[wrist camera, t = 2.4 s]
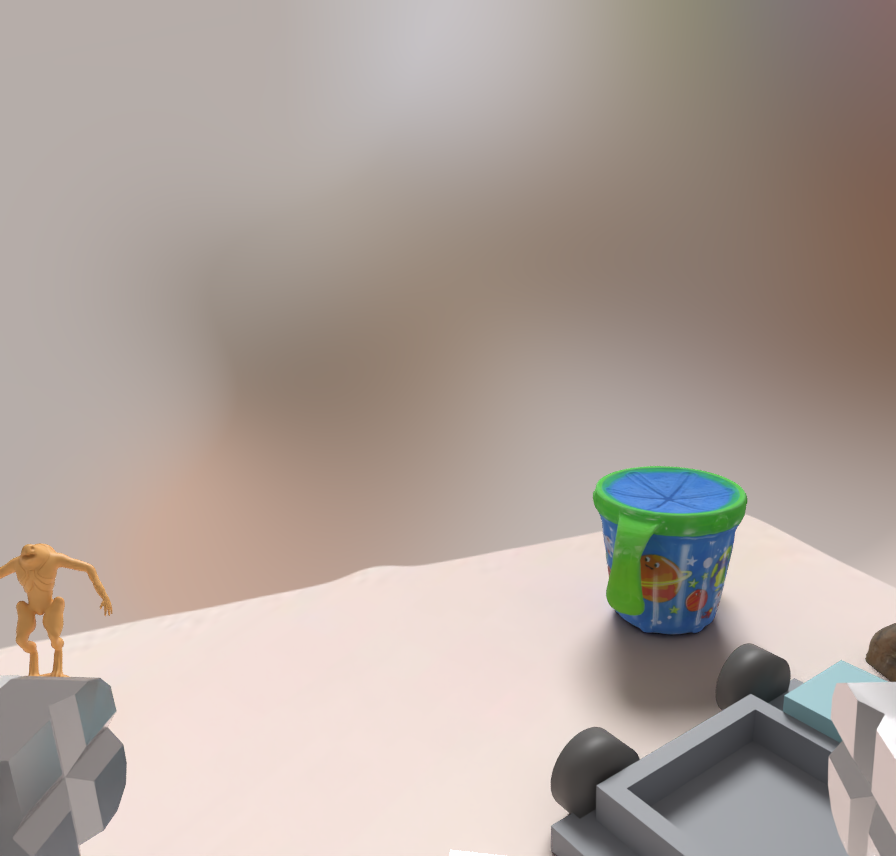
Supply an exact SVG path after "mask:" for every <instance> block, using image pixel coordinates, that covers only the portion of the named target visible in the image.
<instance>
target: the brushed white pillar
mask: <svg viewBox="0 0 896 856" xmlns="http://www.w3.org/2000/svg"><path fill="white" fill-rule="evenodd" d="M449 856H499V855H490V854H481V853H473V852H464V851H455V850H450V855H449Z"/></svg>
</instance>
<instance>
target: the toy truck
mask: <svg viewBox="0 0 896 856" xmlns="http://www.w3.org/2000/svg"><path fill="white" fill-rule="evenodd" d="M859 682H887V681H885V680H883V679H881V678H879V677H877V676H874V675H872V674H870V673H868V672H866V671H864V670H862V669H859V668H857V667H855V666H853V665H851V664H849V663H846V662H844V661H842V660H841V661H839V662H838V663H836V664H834V665H833V666H831V667H829V668H828V669H826V670H825V671H823V672H821V673H820V674H818V675H817V676H815V677H813V678H812V679H810V680H808V681H807V682H805V683H803V682H801V681H799V680H797V679H795V678H794V679H793V680H791V681H790V668H789V665H788V663H787V661H786V660H784V659H782V658H780V657H778V656H776V655H774V654H772V653H770V652H768V651H766V650H764V649H762V648H760V647H758V646H756V645H754V644H750V643H749V644H744V645H742V646H740V647H738V648H737V649H736V650H735V651H734V652H733V653H732V654H731V655H730V656H729V658H728V659H727V660H726V662H725V664H724V665H723V667H722V669H721V672H720V674H719V677H718V681H717V685H716V701H717V704H718V706H719V707H720V708H721V709H722V710H723V711H721V712H719V713H718V714H716V715H714V716H713V717H711V718H709V719H707V720H706V721H704V722H702V723H701V724H699V725H697V726H696V727H694V728H692V729H691V730H689V731H687V732H686V733H684V734H682V735H681V736H679V737H677V738H675V739H674V740H672V741H670V742H669V743H667V744H665V745H664V746H662V747H660V748H659V749H657V750H655V751H654V752H652V753H650V754H649V755H647V756H645V757H644V758H642V759H639V756H638V754H637V753H636V752H635V751H634V750H633V749H631V748H630V747H629V746H627V745H626V744H624V743H623V742H621V741H620V740H619V739H617V738H616V737H614V736H613V735H612V734H610V733H609V732H607V731H606V730H605V729H603V728H600V727H592V728H588V729H586V730H583V731H582V732H580V733H578V734H577V735H576V736H575V737H574V738H572V739H571V740H570V741H569V743H568V744H567V745H566V746H565V747H564V749H563V750H562V752H561V753H560V755H559V757H558V759H557V761H556V763H555V766H554V769H553V772H552V777H551V792H552V795H553V797H554V799H555V801H556V802H557V803H558V804H560V805H561V806H562V807H563V808H564V809H565V810H567V811H568V812H569V813H570V815H568V816H567V817H565V818H563V819H562V820H560V821H558V822H557V823H555V824H553V825H552V826H551V851H552V852H553V853H554V854H555V855H556V856H849V855H848V854H847V852H846V850H845V848H844V845H843V843H842V841H841V839H840V836H839V834H838V831H837V828H836V825H835V821H834V818H833V815H832V810H831V803H830V796H829V789H828V760H829V755H830V754H831V753H832V752H833V751H834V749H835V748H836V747H837V746H838V745H839V744H840V743H841V742H842V741H843V740H842V738H841V736H840V735H839V733H838V731H837V729H836V727H835V725H834V724H833V722H832V720H831V707H832V696H833V693H834V690H835V686H836V683H859Z"/></svg>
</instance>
